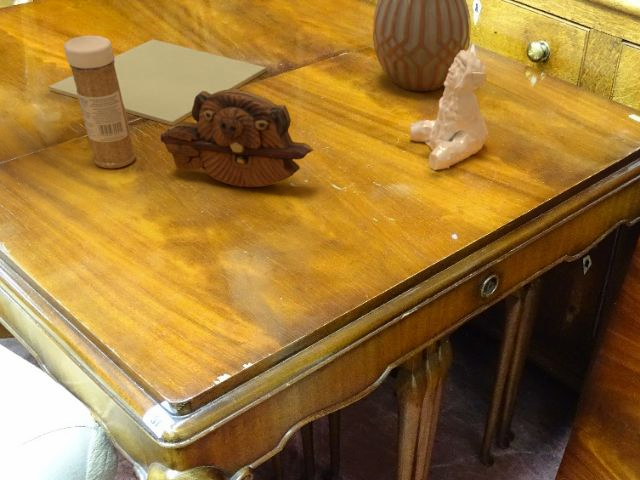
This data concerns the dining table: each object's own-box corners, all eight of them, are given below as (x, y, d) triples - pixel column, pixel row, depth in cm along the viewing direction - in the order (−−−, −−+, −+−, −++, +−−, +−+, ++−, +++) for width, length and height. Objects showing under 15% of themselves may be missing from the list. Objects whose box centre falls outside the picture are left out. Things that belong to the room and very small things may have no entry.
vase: (408, 110, 101) (413, -32, 90) (354, 75, 109) (353, -59, 98) (485, 89, 107) (498, -46, 96) (429, 57, 115) (435, -70, 104)
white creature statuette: (404, 136, 95) (407, 39, 87) (468, 127, 98) (477, 32, 90) (432, 172, 88) (439, 70, 81) (500, 162, 91) (512, 63, 83)
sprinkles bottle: (136, 149, 89) (111, 32, 81) (135, 168, 86) (109, 49, 77) (94, 152, 88) (65, 34, 80) (91, 171, 85) (60, 51, 76)
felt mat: (49, 90, 100) (48, 86, 100) (153, 43, 114) (152, 39, 114) (173, 126, 94) (172, 121, 94) (266, 71, 108) (266, 67, 108)
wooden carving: (160, 184, 84) (143, 96, 77) (176, 164, 87) (161, 78, 81) (308, 201, 82) (304, 113, 76) (319, 180, 86) (315, 95, 79)
